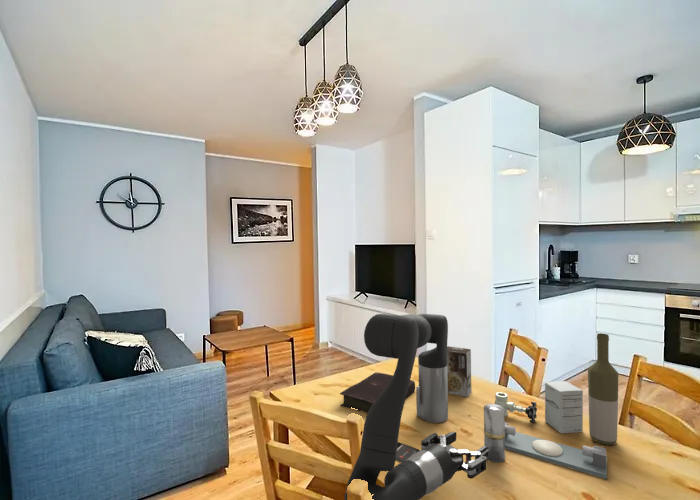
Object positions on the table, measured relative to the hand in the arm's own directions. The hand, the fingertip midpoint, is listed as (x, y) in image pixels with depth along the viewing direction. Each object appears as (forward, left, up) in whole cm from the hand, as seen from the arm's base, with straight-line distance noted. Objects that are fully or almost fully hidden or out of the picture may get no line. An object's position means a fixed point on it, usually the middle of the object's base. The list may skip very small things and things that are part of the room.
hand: (470, 442), depth 87 cm
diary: (-41, +25, -9) cm, 49 cm away
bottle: (+26, +36, -8) cm, 45 cm away
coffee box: (-19, +46, -8) cm, 50 cm away
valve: (+3, +36, -8) cm, 38 cm away
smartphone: (-14, -1, -9) cm, 17 cm away
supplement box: (+16, +38, -8) cm, 42 cm away
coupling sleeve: (+3, +11, -8) cm, 14 cm away
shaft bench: (+14, +21, -8) cm, 26 cm away
